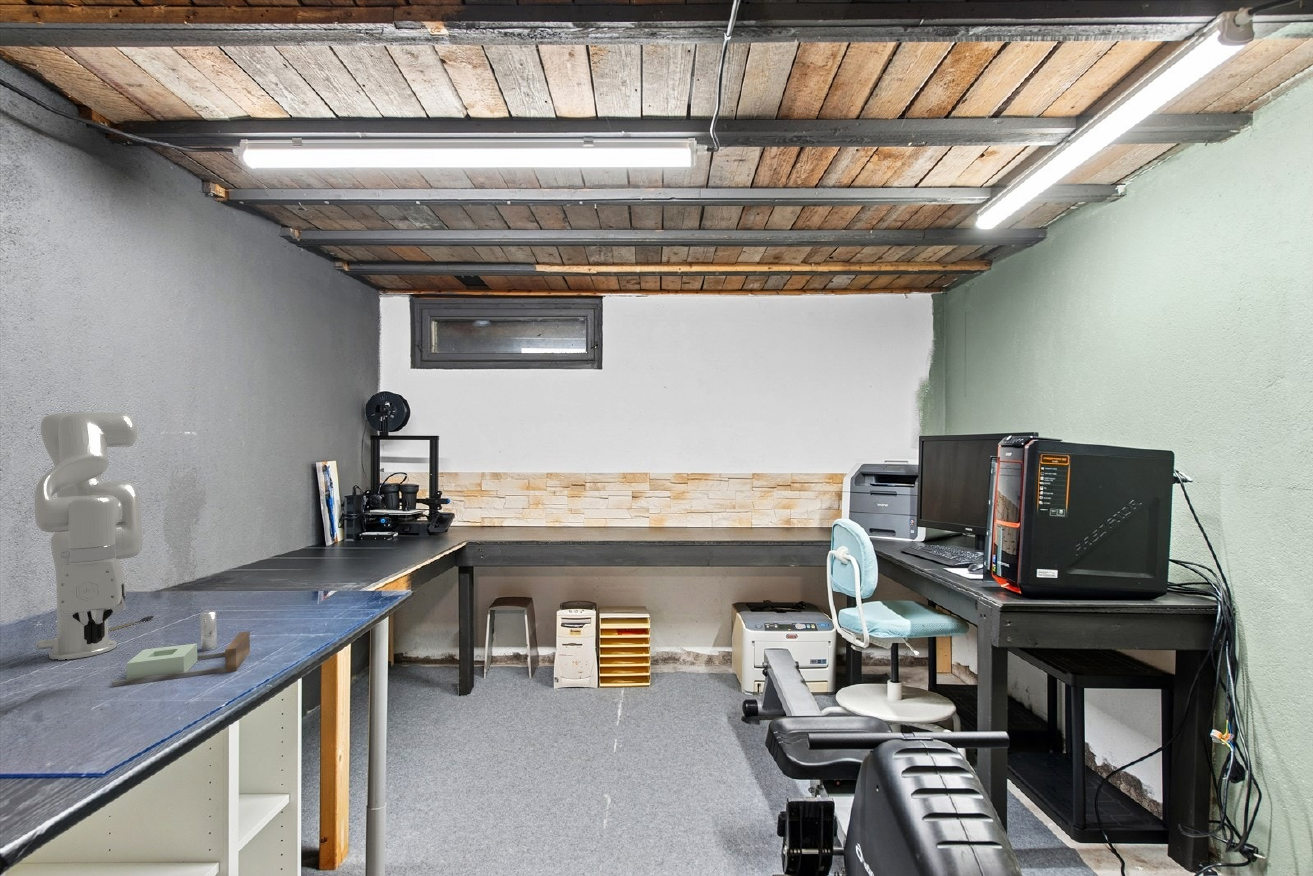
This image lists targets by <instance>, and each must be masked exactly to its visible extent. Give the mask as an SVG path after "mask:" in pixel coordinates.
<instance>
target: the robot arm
mask: <svg viewBox="0 0 1313 876" xmlns="http://www.w3.org/2000/svg"><path fill="white" fill-rule="evenodd" d="M137 428H138V427H137V423H136V422H135V419H134V417H132V416H131V414H129V413H125V412H124V413H123V412H71V411H70V412H57V413H51V414H48V415H46V416H44V418H42V420H41V422H40V434H41V435H40V436H41V438H42V443H43V445H44V447H45V449H46V451H47V453H48V455H49V457H50V459H51V461H52V463H53V465H54V467H52V468H51V469H49V470H48V471H47V472H46V473H45V474H44V475H43V476H42V478H41V479H39V481H38V483H37V485H36V487H35V491H34V519H35V524H36V526H37V528H38V529H40V530H41V531H42V532H45V533H53V535H52V536H51V538H50V549H51V555H52V560H53V563H54V564H53V565H54V569H55V581H56V582H55V583H56V586H55V587H56V617H57V619H56V620H57V621H56V623H57V626H56V627H57V629H56V630H57V636H56V637H53V638H51V639H49V638H48V639H40V640H37V643H36V648H37V649H38V650H46V649H51V650H52V651H50V652H49V653H48V657H49V659H50V660H54V659H58V660H57V661H62V660H63V661H65V659H67V660H75V659H76V660H77V659H81V658H87V657H91V656H97V655H101V654H104V653H106V652H110V651H112V650H114V649H115V648H116V647H117V646H118V644H117V641H116V640H114V639H110V638H109V637H110V636H109V632H108V629H109V618H110V617H111V616H112V615H114V614H118V613H120V612H123V611H125V610H127V605H126V603H125V601H126V597H127V596H126V593H127V591H126V581H125V577H124V571H123V567H122V563H121V560H122V559H130V558H135V557H137V556H138V555H139V554H140V553H141V551H142V549H143V528H142V527H143V525H142V514H141V512H142V511H141V501H140V494H139V491H138V488H137V486H136V485H135V484H134V483H133V482H129V481H126V480H124V481H123V480H120V481H118V480H117V481H102V476H101V475H102V474H104V473H105V472H106V471H107V469H108V468H109V465H110V464H109V456H108V455H109V454H108V448H124V447H125V448H127V447H128V448H129V447H132V446H133V445H135V444H136V442H137V439H138V438H137V437H138V429H137ZM55 494H56V497H53V496H54V495H55Z"/></svg>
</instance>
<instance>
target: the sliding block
mask: <svg viewBox="0 0 1313 876" xmlns="http://www.w3.org/2000/svg"><path fill="white" fill-rule="evenodd" d="M197 655H198V643H190V644H189V643H188V644H181V645H173V646H170V645H169V646H165V647H164V646H163V647H155V648H154V647H153V648H148V649H142V650H141V651H140V652H139V653H137V654H136V655H135V656H134V657H133V658H131V659H130V660H129V661H128V662H126V665H125V666H126V673H125V674H126V679H133V678H141V677H149V676H156V675H164V674H172V673H179V672H187V671H189V670H190V669H191V668H193V666H194V665H195V664H196V663H197V662H198V660H197Z"/></svg>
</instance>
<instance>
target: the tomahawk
mask: <svg viewBox="0 0 1313 876" xmlns="http://www.w3.org/2000/svg"><path fill="white" fill-rule="evenodd" d="M154 617H155V616H154V615H149V616H145V617H143V618H141V619H140V620H138V621H133V622H132V621H131V622H128V623H125V624H121V625H118V626H114V627H112V628H111V627H110V628H108V633H109V631H110V632H113V631H112V630H114V631H117V630H116V629H118V630H120V629H119V628H121V629H123V628H122V627H125V628H127V627H132V626H134V625H133V624H135V623H139V624H142V623H141V622H143V623H145V622H146V621H148V620H151V619H153V618H154ZM144 621H145V622H144ZM131 625H132V626H131ZM135 625H136V624H135Z"/></svg>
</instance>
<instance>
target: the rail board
mask: <svg viewBox="0 0 1313 876" xmlns="http://www.w3.org/2000/svg"><path fill="white" fill-rule="evenodd" d="M250 653H251V642H250V631H241V632H239V633H238V634H237V635H236V636H235V638H233V639H232V641H231V642H230V643H229V644H228V645H227V646H226V648H225V650H224V651H221V652H212V653H211V652H210V653H203V654H197V661H203V660H209V659H216V658H217V659H218V658H224V660H225V661H224V663H225V664H224V665H225V666H219V667H213V668H211V667H210V668H204V669H203V668H202V669H196V670H190V671H189V670H188V671H187V672H179V673H172V674H164V675H156V676H149V677H141V678H133V679H127V678H126V679H119V680H112V681H111V688H113V687H121V686H129V685H136V684H143V683H144V684H145V683H152V682H161V681H169V680H175V679H181V678H182V679H183V678H190V677H197V676H205V675H212V674H219V673H221V674H222V673H233V672H237V671H238V670H239V668H240V667H241V665H242V664H243V663H244V661H245V660H246V659H247V657H248V656H249V655H250Z"/></svg>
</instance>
